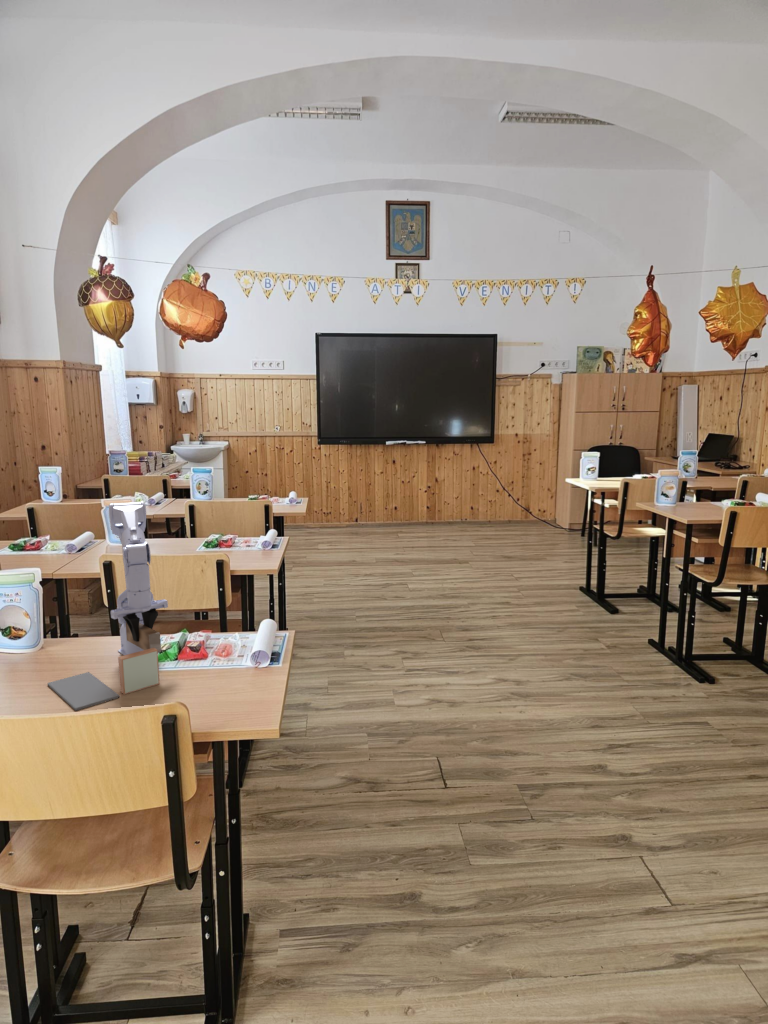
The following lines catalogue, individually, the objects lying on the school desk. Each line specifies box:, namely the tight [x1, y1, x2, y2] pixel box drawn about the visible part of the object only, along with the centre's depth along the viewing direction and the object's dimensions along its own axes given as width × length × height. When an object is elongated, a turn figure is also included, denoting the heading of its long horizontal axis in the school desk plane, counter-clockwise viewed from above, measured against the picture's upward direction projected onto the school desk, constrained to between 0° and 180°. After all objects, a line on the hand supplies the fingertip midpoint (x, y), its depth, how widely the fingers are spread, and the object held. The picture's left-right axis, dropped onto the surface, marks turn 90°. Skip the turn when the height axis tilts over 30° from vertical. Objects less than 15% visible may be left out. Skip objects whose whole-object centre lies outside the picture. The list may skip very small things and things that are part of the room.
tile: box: [117, 648, 161, 695], centre depth 159 cm, size 2×9×9 cm, turn 134°
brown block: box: [126, 623, 162, 653], centre depth 170 cm, size 15×3×5 cm, turn 45°
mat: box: [47, 671, 120, 711], centre depth 158 cm, size 20×10×1 cm, turn 44°
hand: (141, 639), depth 170 cm, fingers closed on brown block, 2 cm apart
